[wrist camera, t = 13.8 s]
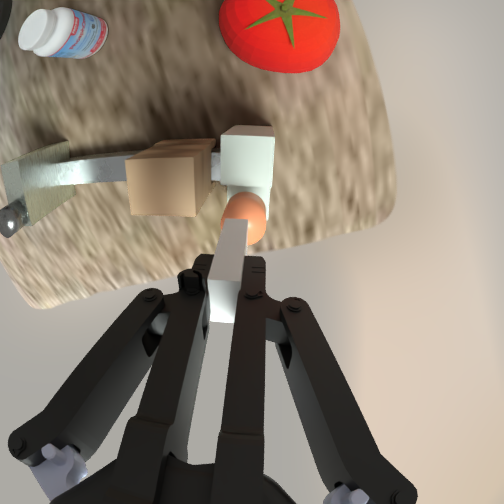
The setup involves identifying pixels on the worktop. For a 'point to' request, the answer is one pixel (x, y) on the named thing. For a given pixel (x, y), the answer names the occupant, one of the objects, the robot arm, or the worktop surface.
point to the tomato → (280, 32)
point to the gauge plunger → (247, 214)
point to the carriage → (170, 178)
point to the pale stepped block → (248, 161)
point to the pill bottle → (63, 33)
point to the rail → (60, 180)
